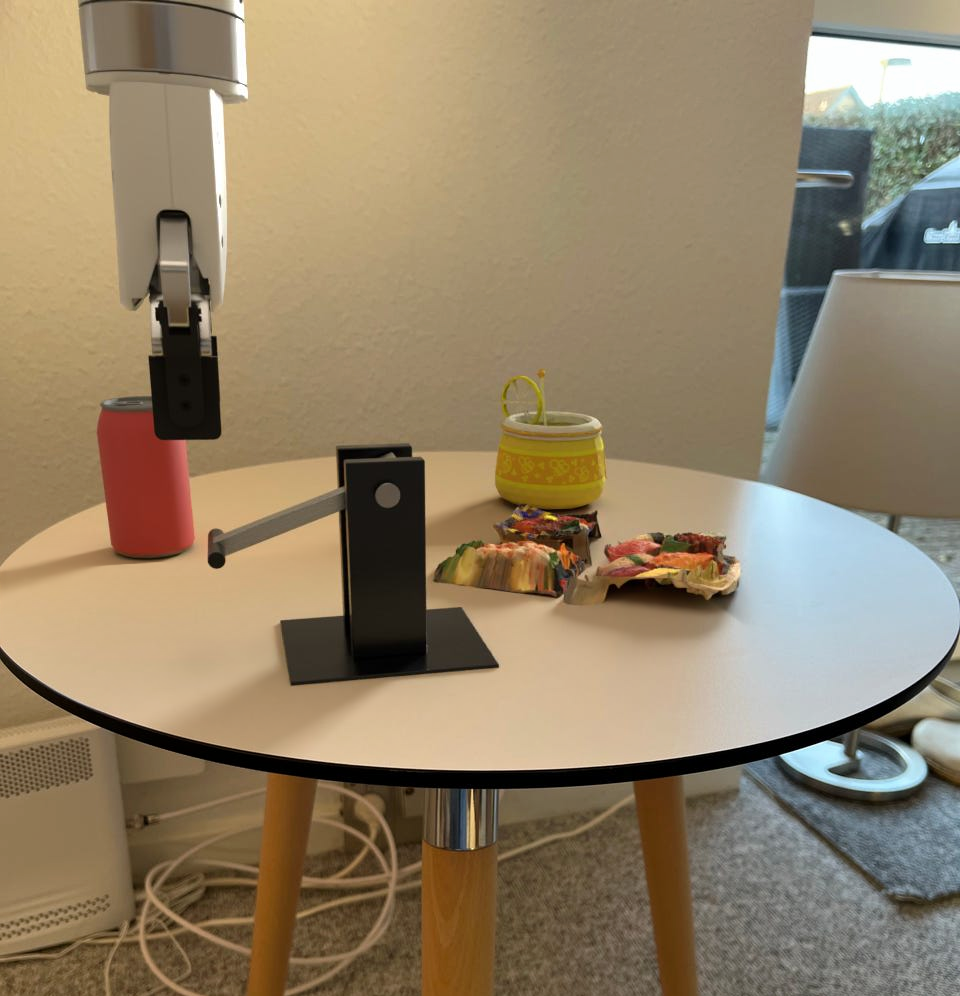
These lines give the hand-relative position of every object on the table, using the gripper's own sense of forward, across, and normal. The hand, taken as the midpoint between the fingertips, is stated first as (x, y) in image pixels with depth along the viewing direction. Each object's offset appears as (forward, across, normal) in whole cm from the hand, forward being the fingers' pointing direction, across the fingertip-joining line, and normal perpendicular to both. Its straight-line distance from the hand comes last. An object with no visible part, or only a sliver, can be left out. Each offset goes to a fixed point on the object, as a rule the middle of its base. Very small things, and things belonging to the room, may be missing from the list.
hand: (190, 421), depth 55 cm
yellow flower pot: (+14, -37, +33) cm, 51 cm away
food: (+14, -12, +29) cm, 34 cm away
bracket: (+15, 0, +11) cm, 18 cm away
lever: (+6, 0, +6) cm, 9 cm away
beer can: (+15, -27, -4) cm, 31 cm away
